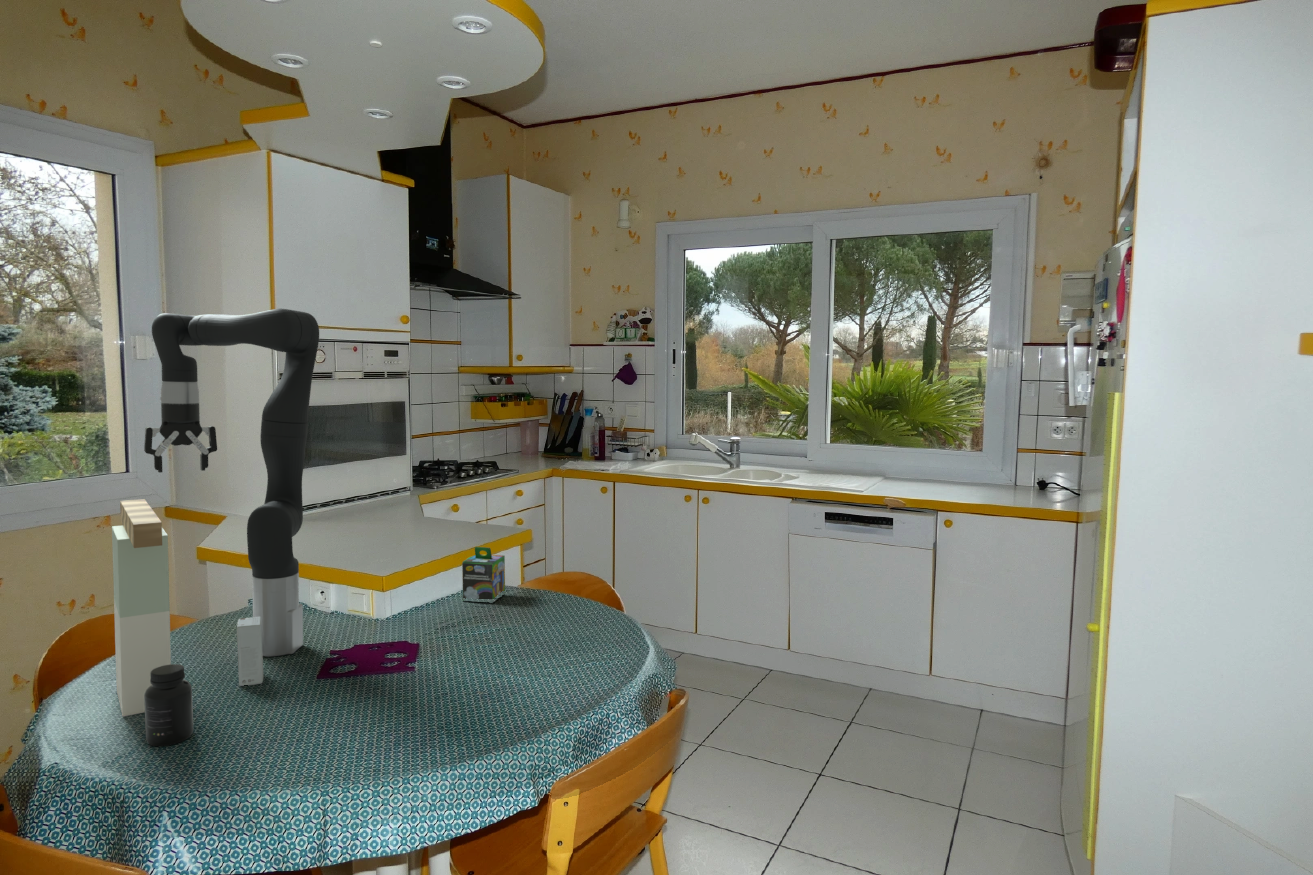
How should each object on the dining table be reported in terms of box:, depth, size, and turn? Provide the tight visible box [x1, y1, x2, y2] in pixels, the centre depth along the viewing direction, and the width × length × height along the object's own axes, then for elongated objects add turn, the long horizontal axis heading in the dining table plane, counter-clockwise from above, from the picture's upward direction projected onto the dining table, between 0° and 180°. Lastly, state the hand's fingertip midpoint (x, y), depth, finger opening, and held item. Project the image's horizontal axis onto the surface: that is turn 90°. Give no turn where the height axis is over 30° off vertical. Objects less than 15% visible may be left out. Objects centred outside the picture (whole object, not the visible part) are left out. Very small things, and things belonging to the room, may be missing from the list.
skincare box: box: [236, 616, 264, 687], centre depth 155 cm, size 6×4×12 cm
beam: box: [119, 498, 163, 548], centre depth 141 cm, size 28×4×4 cm, turn 38°
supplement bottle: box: [144, 663, 194, 747], centre depth 130 cm, size 7×7×12 cm
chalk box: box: [461, 546, 506, 599], centre depth 215 cm, size 9×9×15 cm
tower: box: [111, 525, 172, 717], centre depth 144 cm, size 14×8×32 cm, turn 38°
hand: (181, 471), depth 180 cm, fingers open, 8 cm apart
